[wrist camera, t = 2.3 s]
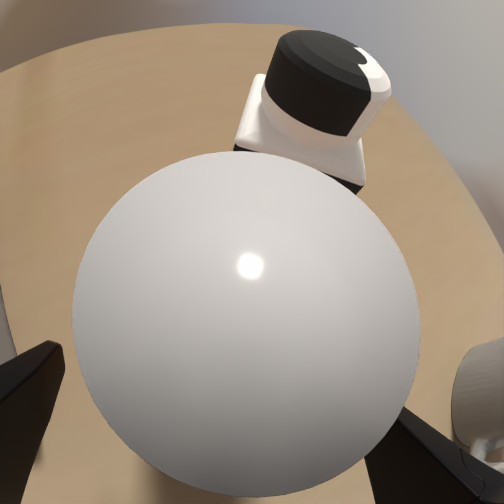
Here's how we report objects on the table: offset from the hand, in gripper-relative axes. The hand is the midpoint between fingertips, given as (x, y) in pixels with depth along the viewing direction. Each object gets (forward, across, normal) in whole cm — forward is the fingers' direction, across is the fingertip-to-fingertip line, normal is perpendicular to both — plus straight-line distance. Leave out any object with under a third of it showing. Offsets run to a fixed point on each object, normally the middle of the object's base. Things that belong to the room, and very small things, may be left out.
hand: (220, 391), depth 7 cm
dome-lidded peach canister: (+7, 0, +5) cm, 9 cm away
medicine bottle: (+16, -3, -3) cm, 17 cm away
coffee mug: (+5, -24, +8) cm, 25 cm away
